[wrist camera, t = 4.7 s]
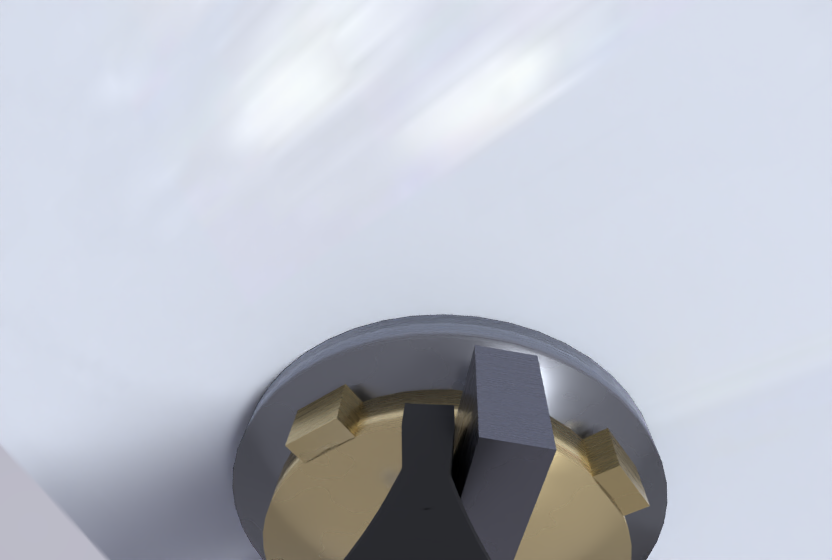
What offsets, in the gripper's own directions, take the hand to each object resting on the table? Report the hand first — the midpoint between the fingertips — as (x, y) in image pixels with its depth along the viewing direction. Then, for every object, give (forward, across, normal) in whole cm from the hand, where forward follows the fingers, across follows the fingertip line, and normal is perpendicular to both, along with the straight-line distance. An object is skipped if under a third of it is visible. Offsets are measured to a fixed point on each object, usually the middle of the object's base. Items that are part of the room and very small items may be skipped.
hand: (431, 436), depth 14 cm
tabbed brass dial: (+2, 0, +6) cm, 6 cm away
